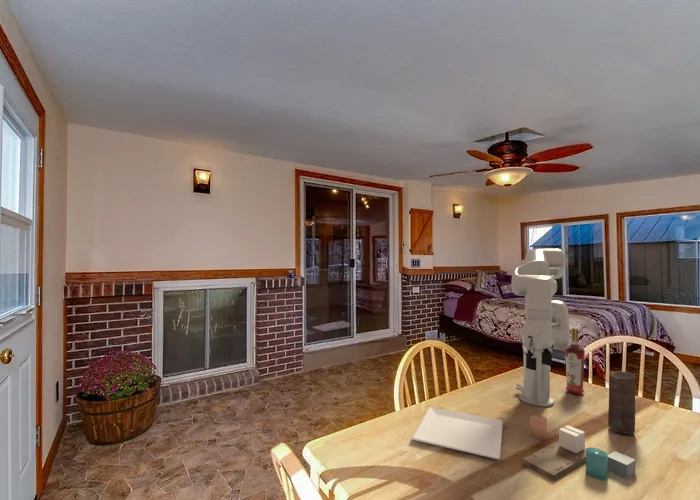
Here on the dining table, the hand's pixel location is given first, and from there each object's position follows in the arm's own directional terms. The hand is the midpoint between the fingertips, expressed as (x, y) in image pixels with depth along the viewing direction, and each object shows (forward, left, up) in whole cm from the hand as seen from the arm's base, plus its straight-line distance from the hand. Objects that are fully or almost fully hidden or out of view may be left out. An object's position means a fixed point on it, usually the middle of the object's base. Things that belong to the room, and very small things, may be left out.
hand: (539, 366), depth 119 cm
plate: (-15, -21, -24) cm, 35 cm away
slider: (+11, -1, -21) cm, 24 cm away
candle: (+13, +27, -23) cm, 38 cm away
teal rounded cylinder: (+20, -6, -23) cm, 31 cm away
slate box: (+23, +1, -23) cm, 33 cm away
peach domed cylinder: (0, 0, -23) cm, 23 cm away
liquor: (-13, +49, -23) cm, 56 cm away
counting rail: (+11, -9, -23) cm, 27 cm away
